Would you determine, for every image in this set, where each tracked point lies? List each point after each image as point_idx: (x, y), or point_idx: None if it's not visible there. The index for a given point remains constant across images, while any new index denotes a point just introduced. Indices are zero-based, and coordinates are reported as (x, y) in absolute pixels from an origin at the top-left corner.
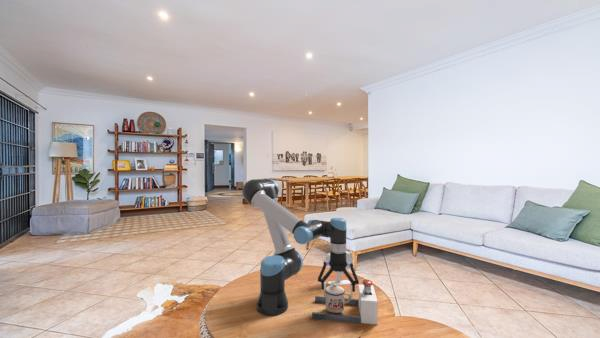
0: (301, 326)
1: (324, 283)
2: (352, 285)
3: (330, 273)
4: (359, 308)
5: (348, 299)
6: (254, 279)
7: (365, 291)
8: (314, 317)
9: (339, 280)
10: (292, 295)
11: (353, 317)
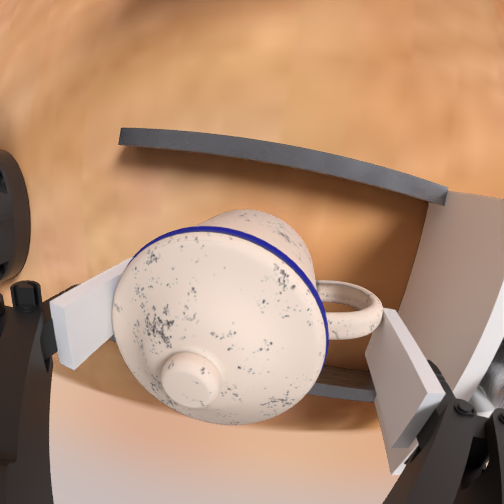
0: (97, 364)
1: (64, 362)
2: (417, 431)
3: (46, 492)
4: (414, 295)
5: (360, 289)
6: None
7: (491, 402)
8: None
9: None
10: (46, 93)
11: (334, 396)
